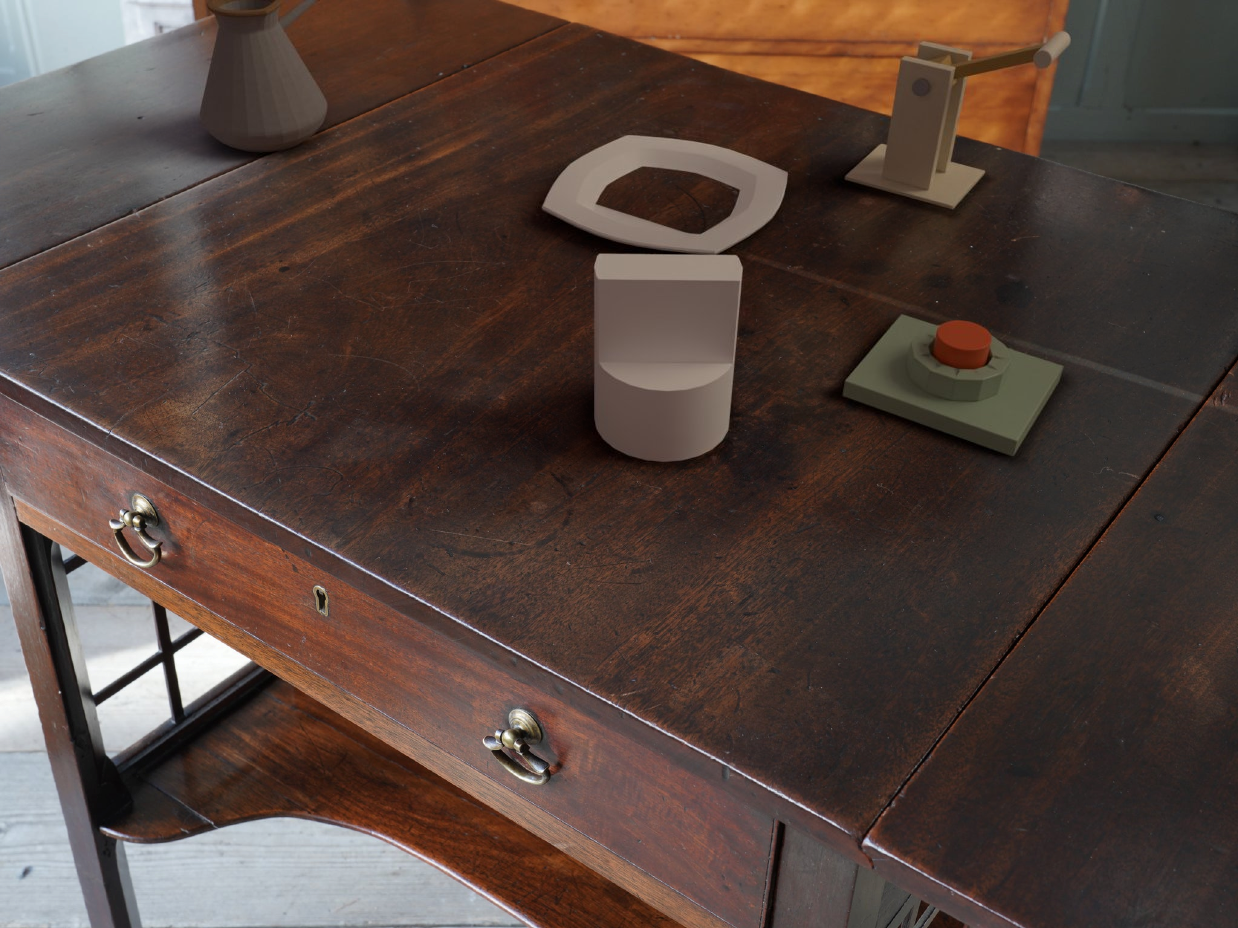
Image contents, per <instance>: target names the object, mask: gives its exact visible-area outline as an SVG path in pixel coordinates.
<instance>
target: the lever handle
mask: <svg viewBox="0 0 1238 928" xmlns="http://www.w3.org/2000/svg"><path fill="white" fill-rule="evenodd" d="M1070 45H1071V35H1070V34H1069V33H1068V32H1067V31H1064V30H1058V31H1057V32H1055V33H1054V34H1053V35H1052V36H1051V37H1050V38H1049V39H1048V40H1047V41H1046V42H1044V43H1040V44H1035V45H1031V46H1027V47H1023V48H1018V49H1013V50H1009V51H1005V52H1000V53H996V54H993V55H988V56H987V55H986V56H984V57H979V58H975V59H971V60H970V61H965V62H961V63H957V64H952V61H951V57H950V55H947V56H943V57H938V58H934V59H930V60H926V61H931V62H935V63H939V64H944V65H948V66H952V67H955V73H954V78H953V83H952V86H953V85H954V84H956V79H958V78H963V77H967V76H968V77H970V76H975V75H976V76H977V75H980V74H985V73H989V72H994V71H999V70H1003V69H1007V68H1012V67H1017V66H1021V65H1026V64H1031V63H1033V64H1034V66H1035V67H1036V68H1038V69H1041V70H1044V69H1047V68H1049V67H1050V66H1051V65H1052V64H1053V63H1054V62H1055V61H1056V60H1057V58H1059V57H1060V55H1061V54H1062V53H1064V51H1065V50H1066V49H1067V48H1068V47H1069V46H1070ZM968 77H967V78H968Z"/></svg>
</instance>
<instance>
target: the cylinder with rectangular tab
mask: <svg viewBox="0 0 1238 928" xmlns="http://www.w3.org/2000/svg"><path fill="white" fill-rule="evenodd" d="M593 270H594V271H593V331H594V332H593V335H594V336H593V345H594V346H593V355H594V356H593V363H594V364H593V365H594V367H593V368H594V369H593V371H594V373H593V378H594V379H593V381H594V382H593V385H594V386H593V387H594V388H593V390H594V391H593V392H594V393H593V395H594V396H593V397H594V398H593V399H594V400H593V401H594V402H593V404H594V405H593V407H594V410H593V419H594V422H595V428H596V429H595V430H597V432H598V434H599V435H600V437H601V438H602V440H603V441H604V442H606V443H607V444H608V445H610V447H611V448H613V449H614V450H617V451H618V452H621V453H623V454H625V455H627V456H629V457H632V458H637V459H641V460H644V461H650V462H651V461H652V462H653V461H654V462H663V463H665V462H677V461H680V462H681V461H684V460H689V459H692V458H696V457H699V456H701V455H704V454H705V453H708V452H711V451H712V450H713V449H715V448H716V447H717V446H718V445H719V444H720V443H721V442H722V441H723V440H724V439H725V437H726V435H727V433H728V431H729V428H730V418H731V417H730V415H731V406H732V405H731V404H732V393H733V385H734V383H733V382H734V371H735V361H736V348H737V338H738V337H737V336H738V327H739V326H738V325H739V315H740V304H741V292H742V281H743V271H744V267H743V265H742V263H741V259H740V258H739V256H738V255H737V254H716V255H707V254H663V253H661V254H660V253H659V254H658V253H657V254H656V253H653V254H651V253H647V254H646V253H598V255H597V256H596V259H595V262H594V266H593Z"/></svg>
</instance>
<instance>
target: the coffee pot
mask: <svg viewBox="0 0 1238 928" xmlns="http://www.w3.org/2000/svg"><path fill="white" fill-rule="evenodd" d="M318 1H319V0H302V1H300V2H299V4H297V5H296V6H294V7H293V8H292V9H290V10H289V11H288V12H287V13H286V14H285V13H284V15H283V16H280V18H279V8H281V6H282V5H283V0H207V1H206V8H207V9H208V11H209V12H211V13H212V14H213V15H214V18H215V19H216V22H217V24H218V28H217V33H216V36H215V37H216V38H215V42H214V46H213V51H212V55H211V60H210V64H209V68H208V73H207V77H206V83H205V87H204V91H203V95H202V100H201V104H200V108H199V118H200V120H201V123H202V126H203V127H204V128H205V129H206V131H207V132H208V133H209V134H210V135H211V136H212V137H213V138H214V139H216V140H217V141H219V142H220V143H222V144H224V145H225V146H228V147H230V148H234V149H236V150H239V151H243V152H248V153H273V152H280V151H285V150H288V149H292V148H294V147H297V146H298V145H300V144H302V143H303V142H305V141H306V140H308V139H309V138H311V137H313V136H314V135H315V134H316V133H317V132H318V130H319V129H320V127H322V125H323V124H324V122H325V119H326V116H327V111H328V102H327V99H326V97H325V96H324V94H323V92H322V90H321V89H320V87H319V85H318V84H317V82H316V81H315V79H314V77H313V76H312V73H310V71H309V69H308V68H307V66H306V64H305V62H304V61H303V59H302V58H301V56H300V55H299V53H298V51H297V50H296V48H295V47H294V44H293V43H292V41H291V40H290V38H289V37H288V35H287V33H286V31H285V30H286V29H287V28H288V27H289V26H291V25H292V24H293V23H294V22H295V21H296V20H298V19H299V18H300V17H301V16H302V15H303V14H305V13H306V12H307V11H308V10H309V9H310V8H311V7H313V6H314V5H315V4H316V3H317V2H318Z"/></svg>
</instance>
